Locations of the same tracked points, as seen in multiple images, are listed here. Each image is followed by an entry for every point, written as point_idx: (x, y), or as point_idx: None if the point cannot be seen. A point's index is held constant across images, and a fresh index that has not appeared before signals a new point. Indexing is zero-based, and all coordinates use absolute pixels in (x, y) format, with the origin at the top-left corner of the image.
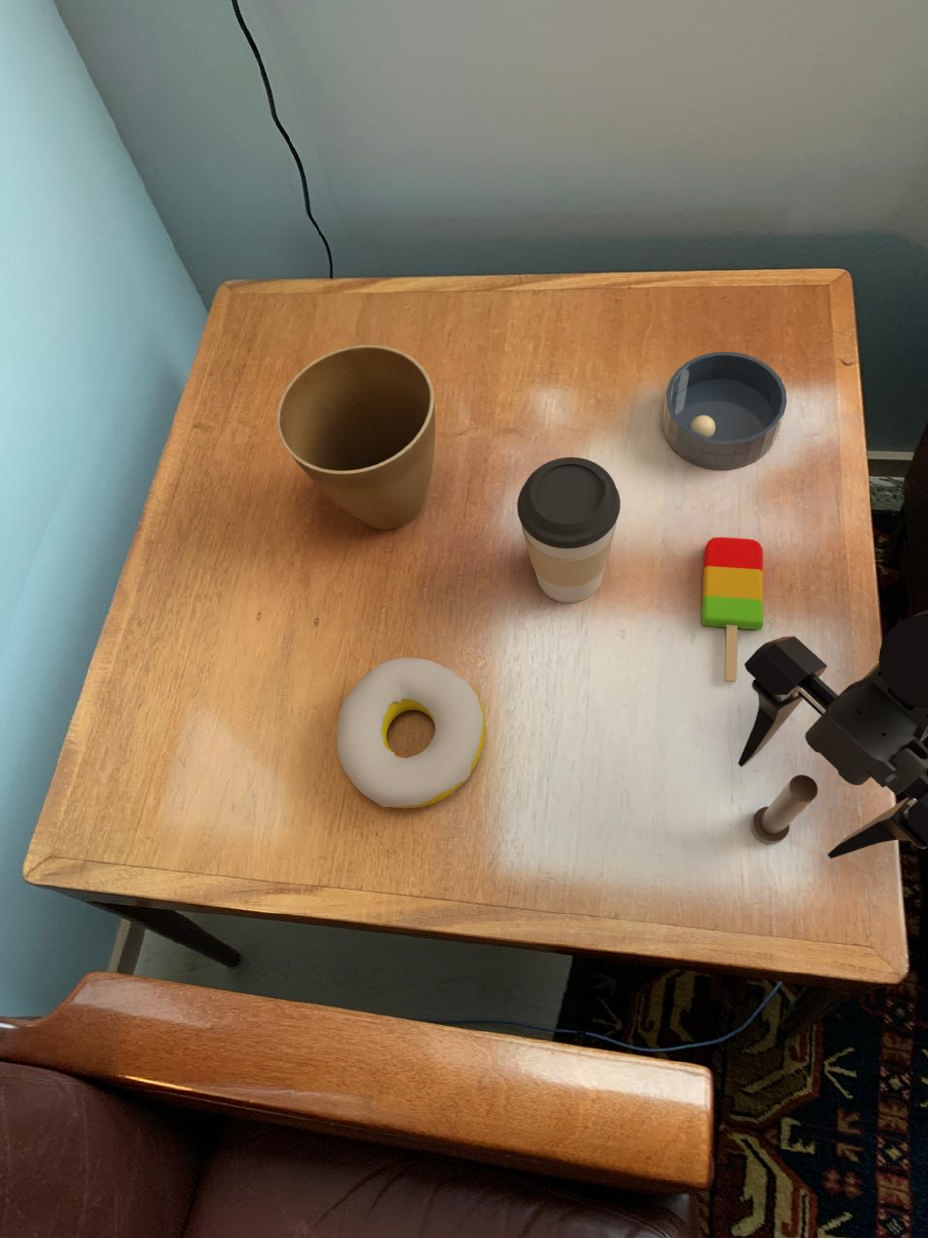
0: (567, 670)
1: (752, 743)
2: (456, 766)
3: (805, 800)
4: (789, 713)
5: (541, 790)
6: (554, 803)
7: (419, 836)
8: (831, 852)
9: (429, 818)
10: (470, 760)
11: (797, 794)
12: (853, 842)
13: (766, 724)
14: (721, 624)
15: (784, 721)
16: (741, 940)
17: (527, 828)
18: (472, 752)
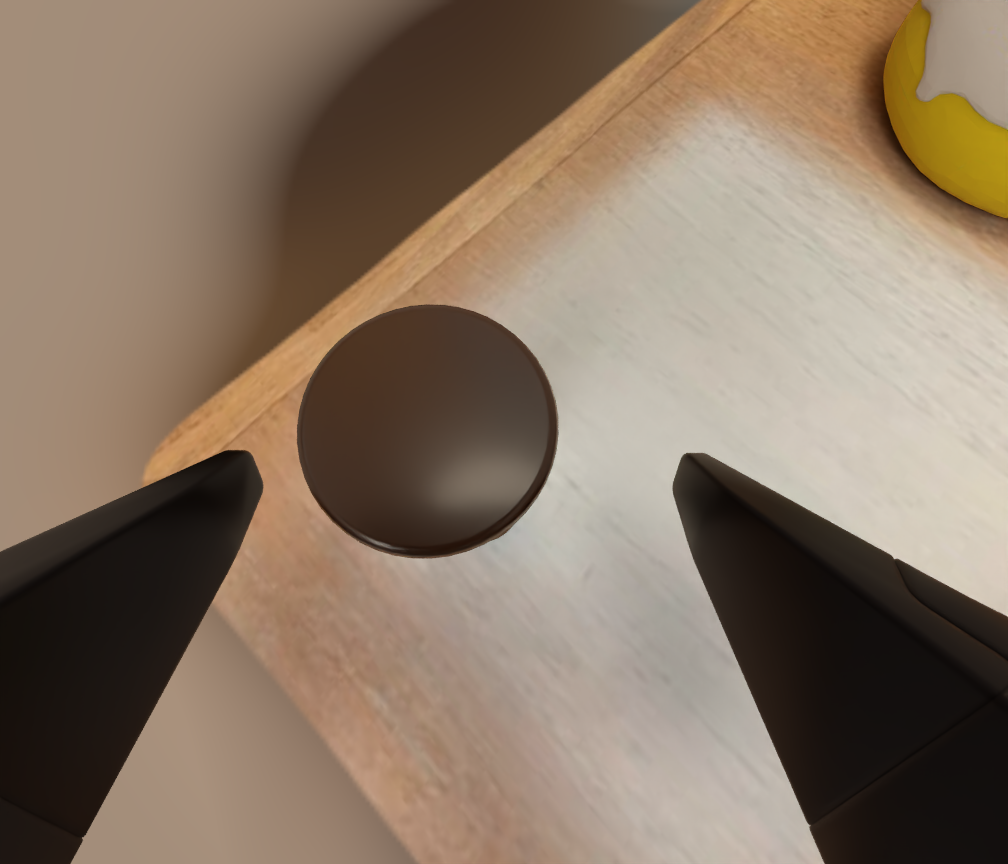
0: (997, 416)
1: (797, 519)
2: (990, 37)
3: (339, 344)
4: (845, 841)
5: (794, 226)
6: (761, 228)
7: (828, 51)
8: (228, 458)
9: (847, 75)
10: (975, 82)
11: (426, 337)
12: (102, 522)
13: (976, 650)
14: None
15: (783, 761)
16: (368, 308)
17: (748, 170)
18: (996, 86)
